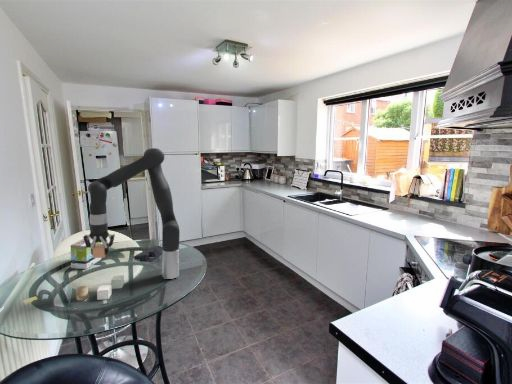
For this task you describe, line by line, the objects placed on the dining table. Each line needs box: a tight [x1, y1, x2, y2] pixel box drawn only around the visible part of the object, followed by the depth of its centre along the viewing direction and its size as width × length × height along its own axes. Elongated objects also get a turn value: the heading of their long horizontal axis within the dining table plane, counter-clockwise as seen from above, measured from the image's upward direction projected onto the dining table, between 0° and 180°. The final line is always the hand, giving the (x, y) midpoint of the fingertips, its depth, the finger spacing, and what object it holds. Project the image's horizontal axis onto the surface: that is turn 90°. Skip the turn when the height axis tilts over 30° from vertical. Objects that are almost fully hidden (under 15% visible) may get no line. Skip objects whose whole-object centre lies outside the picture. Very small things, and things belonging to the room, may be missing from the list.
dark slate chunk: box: [132, 245, 162, 262], centre depth 186 cm, size 15×22×5 cm
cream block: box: [96, 284, 113, 301], centre depth 134 cm, size 5×5×5 cm
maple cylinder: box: [75, 285, 89, 302], centre depth 132 cm, size 5×5×5 cm
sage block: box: [110, 274, 125, 290], centre depth 144 cm, size 5×5×5 cm
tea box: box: [70, 237, 102, 270], centre depth 167 cm, size 15×10×15 cm
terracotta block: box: [92, 244, 107, 259], centre depth 135 cm, size 5×5×5 cm
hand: (100, 254), depth 135 cm, fingers closed on terracotta block, 5 cm apart
